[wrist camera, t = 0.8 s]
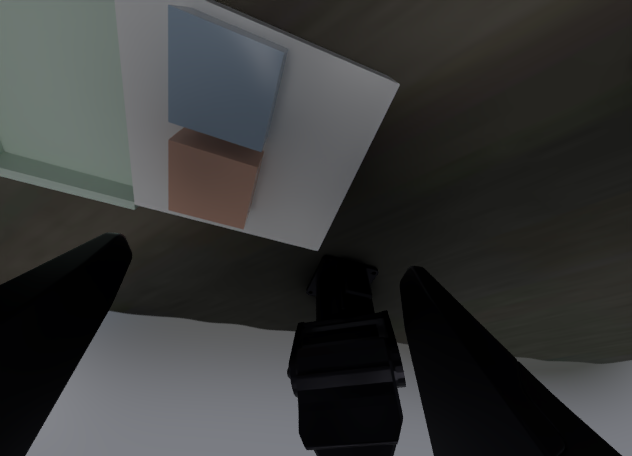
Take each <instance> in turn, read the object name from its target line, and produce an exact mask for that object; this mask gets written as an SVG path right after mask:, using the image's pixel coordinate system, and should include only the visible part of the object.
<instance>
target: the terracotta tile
mask: <svg viewBox="0 0 632 456" xmlns="http://www.w3.org/2000/svg"><path fill="white" fill-rule="evenodd" d="M263 155H264V151H262V152H259V151H256V150H253V149H250V148H247V147H244V146H240V145H237V144H234V143H231V142H228V141H225V140H222V139H219V138H216V137H213V136H210V135H207V134H204V133H200V132H197V131H194V130H191V129H188V128H185V127H184V128H182V129H181V130H180V131H179V132H177V133H176V134H175V135H174V136H172V137H171V138H170V139H169V140H168V210H170V211H174V212H177V213H181V214H185V215H189V216H193V217H197V218H201V219H205V220H209V221H212V222H216V223H220V224H224V225H228V226H232V227H236V228H240V229H244V227H245V224H246V221H247V218H248V215H249V212H250V209H251V205H252V201H253V197H254V193H255V188H256V184H257V180H258V176H259V171H260V167H261V163H262V159H263Z"/></svg>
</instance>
